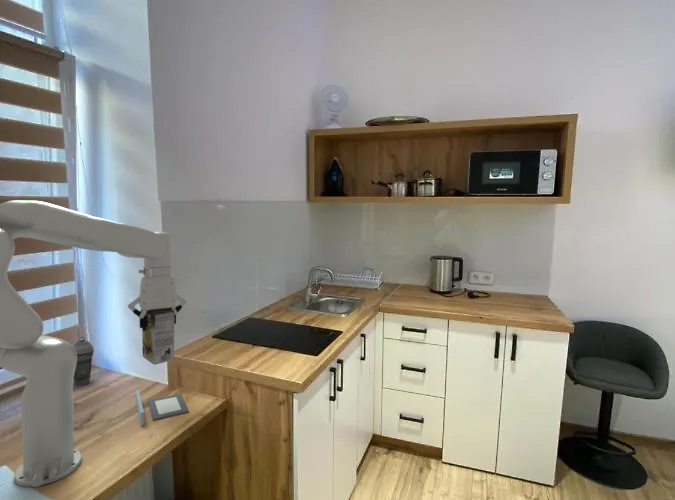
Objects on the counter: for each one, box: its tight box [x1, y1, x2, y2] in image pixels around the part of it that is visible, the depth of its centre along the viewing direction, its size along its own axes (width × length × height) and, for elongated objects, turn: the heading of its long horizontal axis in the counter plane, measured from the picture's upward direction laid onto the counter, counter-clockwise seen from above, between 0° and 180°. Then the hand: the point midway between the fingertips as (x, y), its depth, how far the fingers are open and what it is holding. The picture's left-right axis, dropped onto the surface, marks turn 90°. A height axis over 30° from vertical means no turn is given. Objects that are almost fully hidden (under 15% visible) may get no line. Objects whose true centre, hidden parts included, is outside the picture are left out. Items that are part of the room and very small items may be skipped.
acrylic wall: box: [135, 389, 145, 427], centre depth 114 cm, size 16×1×4 cm, turn 33°
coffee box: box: [141, 308, 175, 366], centre depth 116 cm, size 9×6×16 cm
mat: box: [147, 393, 189, 421], centre depth 119 cm, size 13×10×1 cm
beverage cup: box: [71, 328, 95, 387], centre depth 132 cm, size 7×7×20 cm
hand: (158, 327), depth 116 cm, fingers closed on coffee box, 7 cm apart
